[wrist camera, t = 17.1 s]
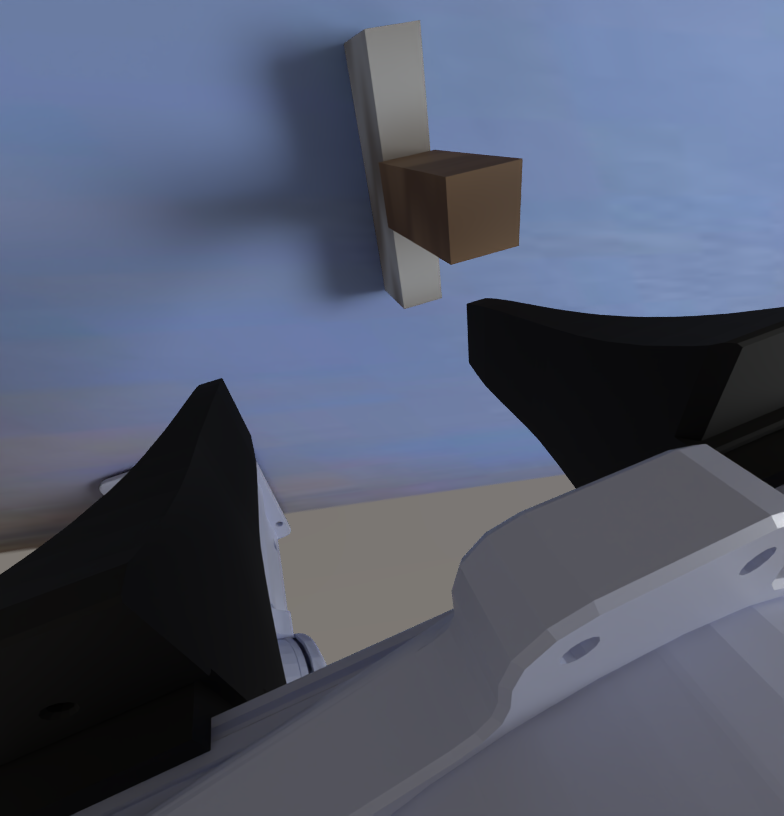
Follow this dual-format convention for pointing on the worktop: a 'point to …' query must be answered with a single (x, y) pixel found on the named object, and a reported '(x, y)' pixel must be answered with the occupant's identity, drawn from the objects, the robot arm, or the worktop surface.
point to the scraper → (422, 172)
